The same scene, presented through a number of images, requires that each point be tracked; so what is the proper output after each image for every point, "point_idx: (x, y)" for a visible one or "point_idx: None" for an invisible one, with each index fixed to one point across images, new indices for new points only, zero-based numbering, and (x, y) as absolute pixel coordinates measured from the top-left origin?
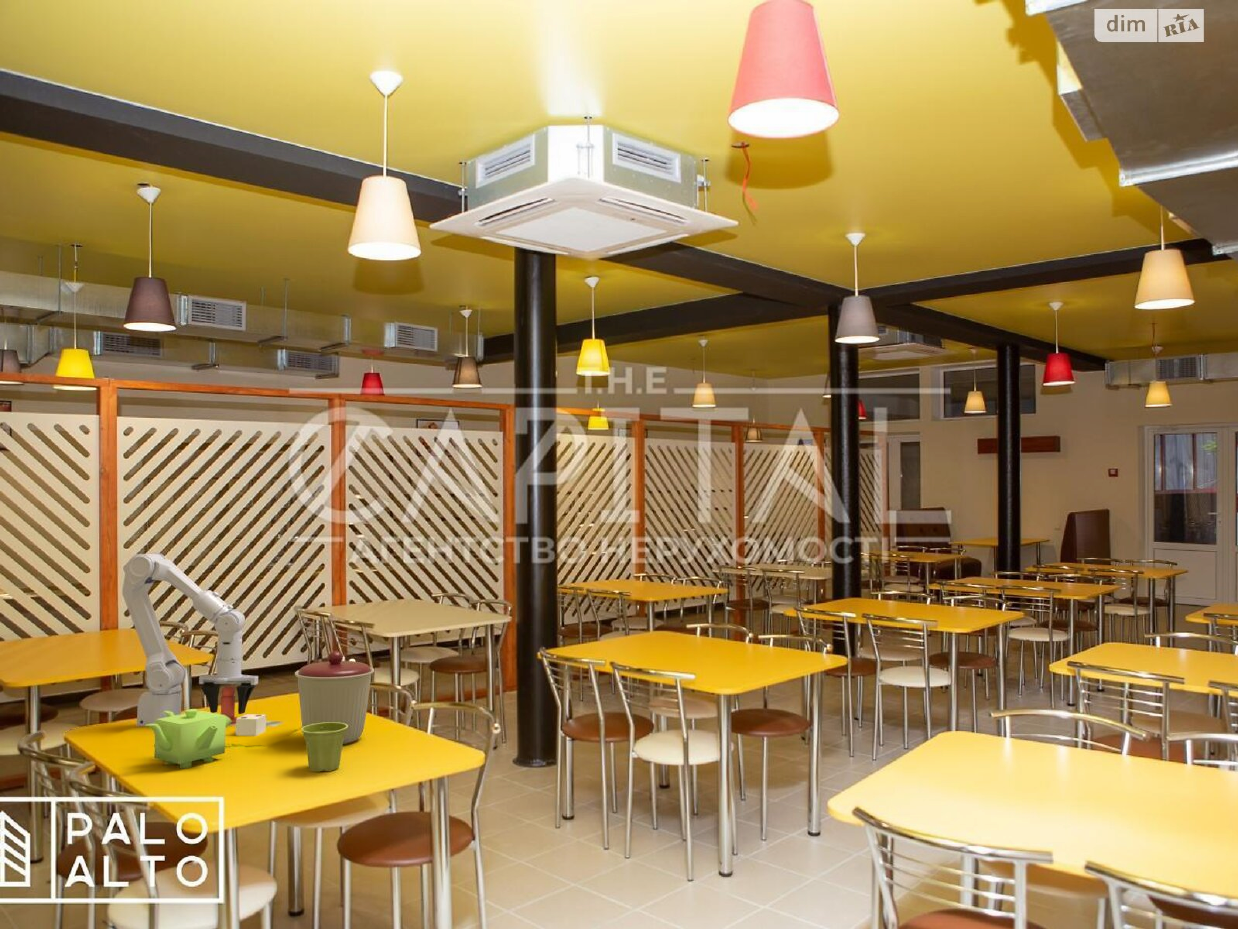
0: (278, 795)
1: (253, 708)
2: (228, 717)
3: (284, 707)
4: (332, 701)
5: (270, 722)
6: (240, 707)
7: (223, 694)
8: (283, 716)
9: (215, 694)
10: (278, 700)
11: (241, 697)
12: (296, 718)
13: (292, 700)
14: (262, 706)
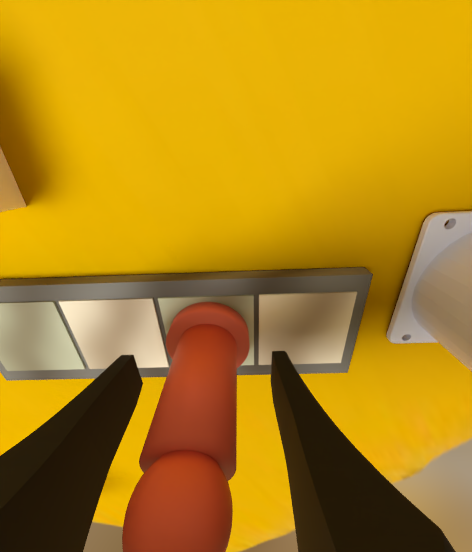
0: None
1: (264, 486)
2: (185, 336)
3: None
4: None
5: (40, 353)
6: (97, 381)
7: (196, 476)
8: (126, 441)
9: (296, 486)
10: (247, 528)
11: (27, 446)
12: None
13: None
14: (253, 498)
